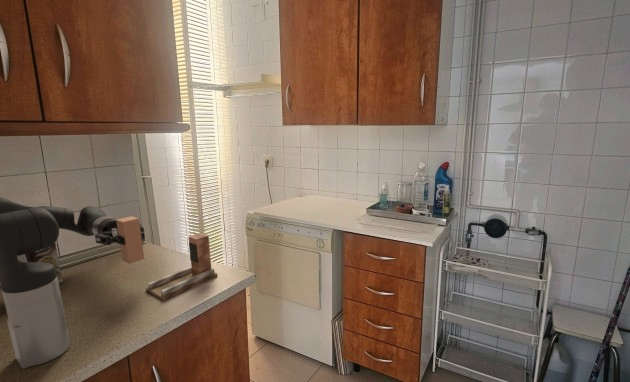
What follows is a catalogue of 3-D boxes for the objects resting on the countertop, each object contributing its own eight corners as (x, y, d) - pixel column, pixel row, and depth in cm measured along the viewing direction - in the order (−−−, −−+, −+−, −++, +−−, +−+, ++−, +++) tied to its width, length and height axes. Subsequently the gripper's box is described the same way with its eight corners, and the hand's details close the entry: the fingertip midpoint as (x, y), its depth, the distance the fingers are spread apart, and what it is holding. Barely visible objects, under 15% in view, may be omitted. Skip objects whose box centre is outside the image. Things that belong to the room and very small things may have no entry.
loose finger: (129, 263, 98) (122, 222, 96) (122, 260, 101) (116, 219, 98) (145, 258, 102) (140, 218, 100) (138, 255, 105) (133, 215, 102)
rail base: (163, 300, 96) (157, 255, 93) (146, 290, 102) (140, 248, 99) (217, 276, 111) (214, 236, 108) (199, 268, 117) (196, 231, 114)
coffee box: (36, 296, 100) (25, 245, 96) (19, 294, 101) (7, 244, 98) (64, 281, 108) (55, 235, 105) (47, 280, 110) (38, 234, 106)
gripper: (133, 233, 116) (158, 243, 106) (86, 246, 104) (109, 258, 94) (130, 213, 114) (155, 220, 104) (82, 223, 103) (105, 233, 93)
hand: (133, 238), depth 99 cm, fingers closed on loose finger, 5 cm apart
